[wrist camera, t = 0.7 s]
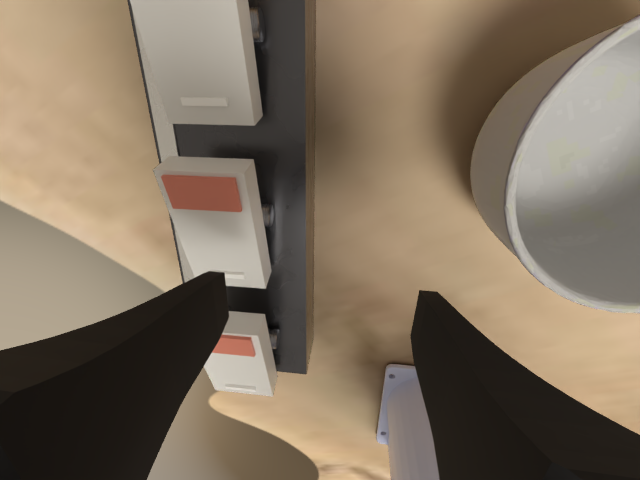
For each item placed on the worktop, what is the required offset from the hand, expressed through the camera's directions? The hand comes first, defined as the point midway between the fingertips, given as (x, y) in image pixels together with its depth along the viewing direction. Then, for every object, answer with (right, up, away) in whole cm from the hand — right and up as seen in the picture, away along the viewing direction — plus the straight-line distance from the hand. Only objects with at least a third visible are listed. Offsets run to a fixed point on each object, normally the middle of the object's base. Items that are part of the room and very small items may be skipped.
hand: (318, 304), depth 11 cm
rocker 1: (-5, +12, +2) cm, 13 cm away
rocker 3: (-5, -4, +9) cm, 11 cm away
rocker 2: (-5, +4, +5) cm, 8 cm away
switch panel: (-4, +5, +9) cm, 11 cm away
